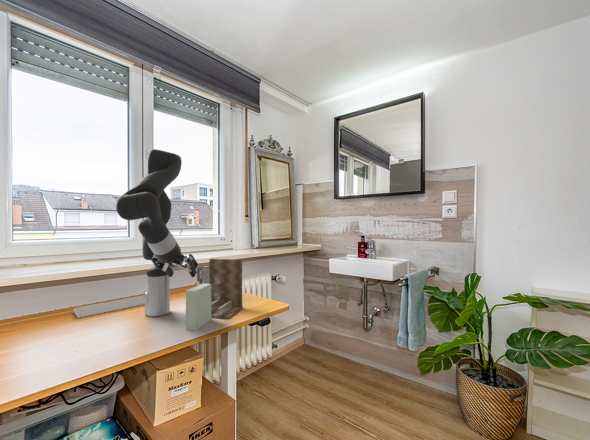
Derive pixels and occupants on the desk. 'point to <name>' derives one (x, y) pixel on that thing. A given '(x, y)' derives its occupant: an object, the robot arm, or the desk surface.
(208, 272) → the coffee box
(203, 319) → the pale green rectangular block
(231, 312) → the wooden l-shaped stand
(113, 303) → the decorative molding
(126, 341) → the desk surface
